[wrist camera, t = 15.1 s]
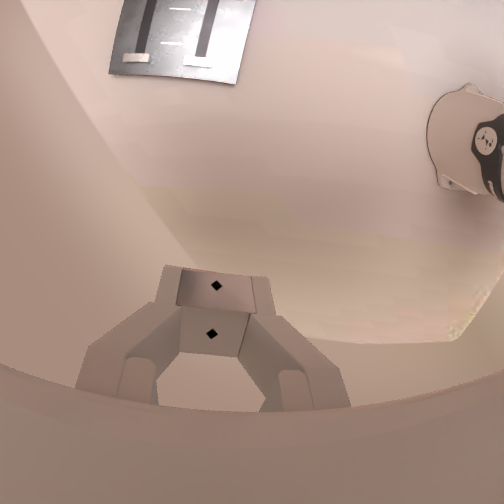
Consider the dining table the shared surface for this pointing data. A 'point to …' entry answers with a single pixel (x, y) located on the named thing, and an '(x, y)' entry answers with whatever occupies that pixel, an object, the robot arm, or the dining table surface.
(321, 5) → the dining table surface
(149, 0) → the console
